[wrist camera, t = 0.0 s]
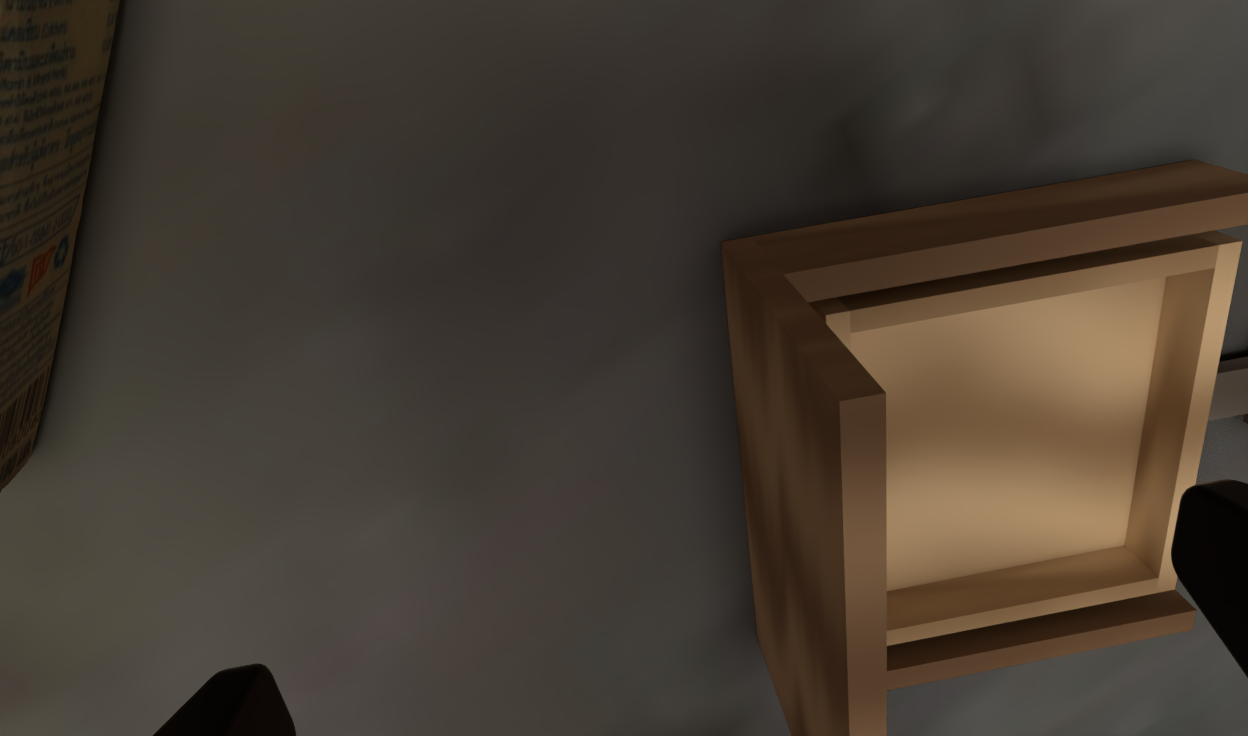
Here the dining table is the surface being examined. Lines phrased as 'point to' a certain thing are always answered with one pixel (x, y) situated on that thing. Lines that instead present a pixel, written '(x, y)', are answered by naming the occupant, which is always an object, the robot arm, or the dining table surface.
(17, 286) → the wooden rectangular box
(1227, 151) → the dining table surface
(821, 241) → the open wooden box
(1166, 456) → the wooden drawer
